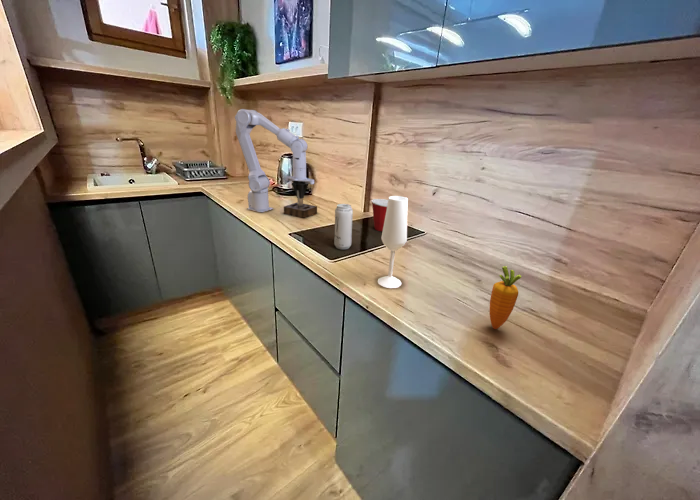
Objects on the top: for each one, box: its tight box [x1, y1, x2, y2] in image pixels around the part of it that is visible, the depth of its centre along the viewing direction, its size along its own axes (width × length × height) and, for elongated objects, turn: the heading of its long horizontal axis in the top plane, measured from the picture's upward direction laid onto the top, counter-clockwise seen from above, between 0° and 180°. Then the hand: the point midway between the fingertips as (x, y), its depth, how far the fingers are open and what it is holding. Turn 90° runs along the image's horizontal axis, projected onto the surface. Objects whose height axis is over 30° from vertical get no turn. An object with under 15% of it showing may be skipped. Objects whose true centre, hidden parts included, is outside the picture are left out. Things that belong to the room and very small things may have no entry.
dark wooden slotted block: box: [283, 201, 318, 219], centre depth 143 cm, size 12×10×4 cm
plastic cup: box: [370, 198, 388, 232], centre depth 125 cm, size 11×11×12 cm
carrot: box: [489, 265, 522, 330], centre depth 65 cm, size 5×5×15 cm
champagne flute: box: [377, 195, 409, 289], centre depth 81 cm, size 7×7×24 cm
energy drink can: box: [333, 203, 354, 250], centre depth 105 cm, size 6×6×15 cm
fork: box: [296, 190, 304, 208], centre depth 141 cm, size 1×4×9 cm, turn 151°
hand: (300, 198), depth 140 cm, fingers closed on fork, 1 cm apart
